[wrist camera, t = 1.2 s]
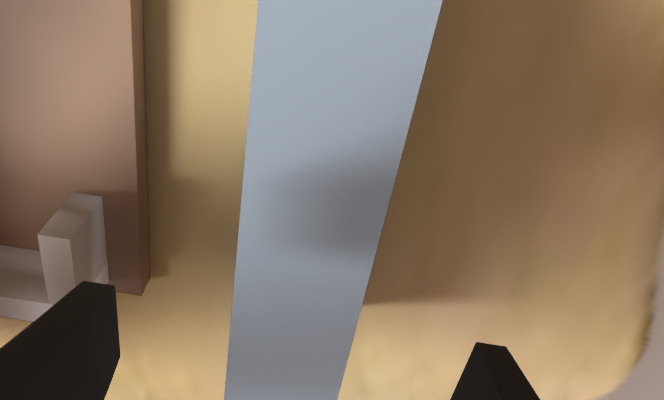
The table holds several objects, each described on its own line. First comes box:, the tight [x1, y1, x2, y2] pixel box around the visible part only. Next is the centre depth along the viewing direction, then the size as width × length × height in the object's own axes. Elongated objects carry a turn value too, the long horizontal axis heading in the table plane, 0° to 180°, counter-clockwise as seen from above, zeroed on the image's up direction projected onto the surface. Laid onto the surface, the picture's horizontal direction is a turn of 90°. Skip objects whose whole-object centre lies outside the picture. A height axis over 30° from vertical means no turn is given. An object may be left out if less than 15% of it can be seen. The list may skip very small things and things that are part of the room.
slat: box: [224, 0, 443, 400], centre depth 16 cm, size 4×15×6 cm, turn 171°
